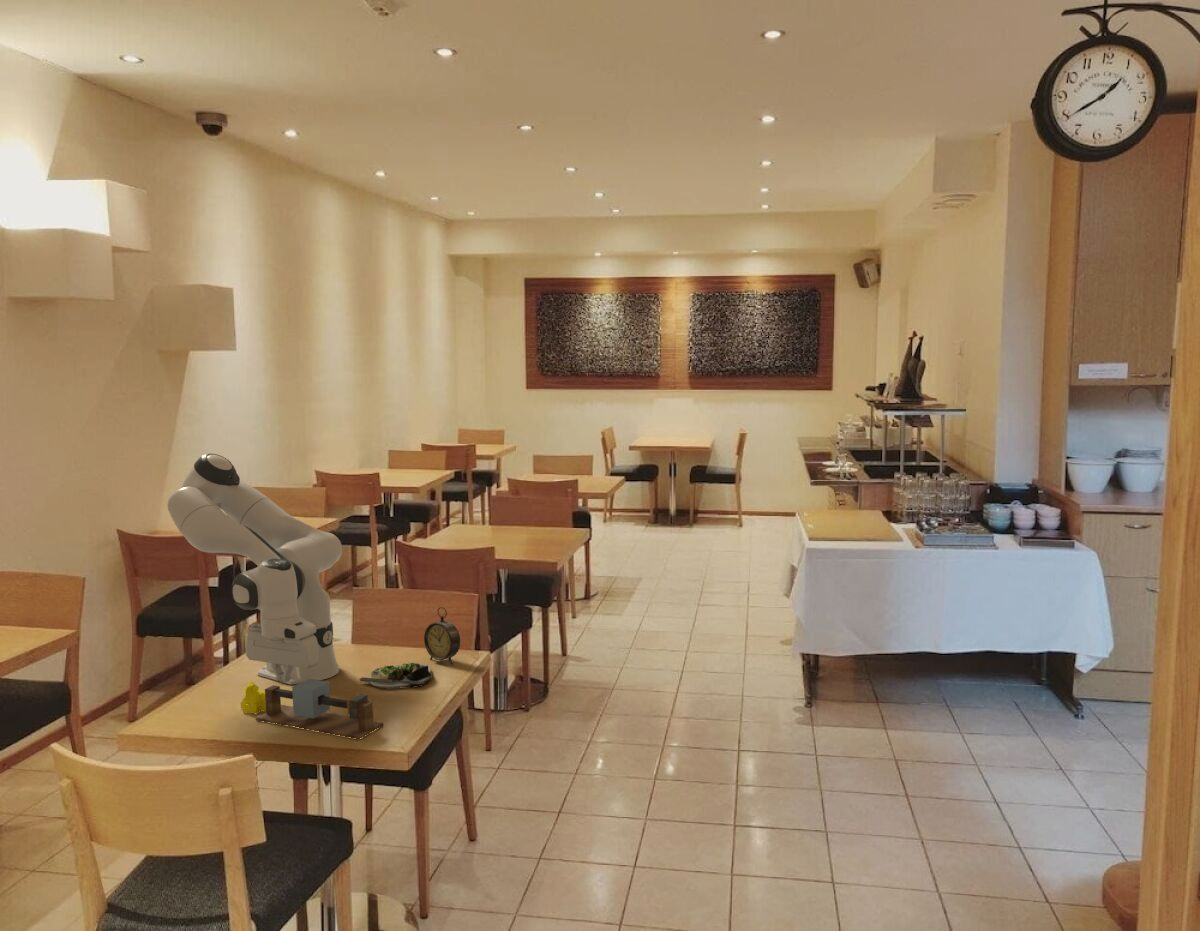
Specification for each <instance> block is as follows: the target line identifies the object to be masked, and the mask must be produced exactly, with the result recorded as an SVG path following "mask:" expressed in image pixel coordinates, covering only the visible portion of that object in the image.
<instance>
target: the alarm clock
mask: <svg viewBox="0 0 1200 931" xmlns="http://www.w3.org/2000/svg"><path fill="white" fill-rule="evenodd" d="M440 609H443V610H444V613H445V614H444V615H445V616H444V615H443V616H442V615H441V614H440V612H439V611H440ZM437 615H438V616H439V618H440V620H439V621H436V622H432V623H430V624H429V625H428V626H427V627H426V629H425V631H424V635H423V641H424V646H425V649H426V652H427V654H428V655H429V656H430V657H429V660H430V659H432V660H433V659H434V660H436V661H444V660H447V659H448V660H449V662H450V664H453V665H454V663H453V660H452V658H453V657H454V656H455V655H457V653H458V652H459V650H460V648H461V636H460V632H459V631H458V629H457V627H456V626H455V625H454V624H453V623H452V622H450V621H448V620H444V619H446V617H447V615H448V612H447V610H446V608H445V607H443V606H439V607H438V608H437Z"/></svg>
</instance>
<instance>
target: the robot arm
mask: <svg viewBox="0 0 1200 931" xmlns="http://www.w3.org/2000/svg"><path fill="white" fill-rule="evenodd" d="M167 511H168V512H169V514H170V517H171V518H172V521H173V523H174V524H175V526H176V528H177V530H178V531H179V532H180V534H181V535H182V536H183V537H184V538H185V540H186V542H187V543H189V544H190V545H191V546H192V547H194V548H195V549H196V550H199V551H200V552H203V553H209V554H210V553H212V554H234V555H241V556H244V557H246V558H248V559H249V560H251V561H252V562H253V563H254V564H255V565H257V567H254V568H252V569H249V570H246V571H244V572H243V571H242V572H240V573H239V574H237V575H236V576H235V577H234V579H233V581H232V584H231V589H230V590H231V598H232V600H233V602H234V603H235V605H237V607H239V608H240V609H243V610H247V611H248V610H256V609H258V610H259V611H260V617H259V618H260V623H258V622H252V623H250V624H249V625H248V626H247V636H246V643H245V644H246V645H245V656H246V658H248V660H249V661H254V662H261V663H265V664H266V665H263V666H262V667H260V668H259V669H258V671H257V675H258V676H260V677H263V678H267V679H270V680H274V681H277V682H280V683H283V684H287V685H297V684H299V683H301V682H303V681H305V680H308V679H314V680H320V681H324V680H326V679H330V678H332V677H334V676H336V675H338V674H339V672H340V668H339V666H338V662H337V659H336V658H337V657H336V653H335V648H334V643H333V639H334V637H333V636H334V626H333V625H334V624H333V622H332V619H331V618H332V616H331V615H332V614H331V597H330V595H329V593H328V592H327V591H325V590H324V589H323V587H322V584H321V581H320V573H322V572H324V571H326V570H330V569H331V568H332V567H333V566H334V565H335V564H337V562H338V561H339V560H340V558H341V557H342V554H343V546H342V542H341V540H340V539H339V538H338V537H337V536H336V535H335V534H333V533H331V532H328V531H323V530H320V529H317V528H315V527H313V526H311V525H309V524H307V523H305V522H303V521H301V520H300V519H297V518H296V517H294V516H292V515H291V514H289V513H288V512H286V511H285V510H284V509H283V508H282V507H280V506H279V505H277V503H275V502H274V501H273V500H272V499H270V498H269V496H266V495H265V494H264V493H262V492H261V491H260V490H258V489H257V488H256V487H255V488H254V487H253V486H251V485H250V484H248V483H246V482H243V481H241V480H240V476H239V474H238V473H237V470H236V468H235V466H234V465H233V463H232V462H231V461H230V460H229V459H227V458H226V457H224V456H222V455H220V454H216V453H205V454H202V455H201V456H200V457H199V458H197V460H196V461H195V462H194V464H193V467H192V468H191V470H190V471H189V472H188V474H187V475H186V477H185V479H184V480H183V482H182V485H181V487H180V488H178V489H177V490H175V491H173V493H172V494H171V495H170V496H169V498H168V501H167Z"/></svg>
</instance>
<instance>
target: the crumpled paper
mask: <svg viewBox="0 0 1200 931" xmlns="http://www.w3.org/2000/svg"><path fill="white" fill-rule="evenodd" d="M243 694H244V696H245V697H244V698H243V699H242V701H241V702H240V709H241V708H243V709H242V713H243V712H247V713H246V714H251V713H257V714H259V713H260V712H262V711H261V710H264V711H263V712H266V702H265V689H260V687H259V686H258V685H256V684H255V683H254V681H253V679H251V680H250V682H249V684H248V685H247V686H245V687H244V688H243ZM259 711H260V712H259ZM258 712H259V713H258Z"/></svg>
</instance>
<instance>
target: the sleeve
mask: <svg viewBox="0 0 1200 931" xmlns="http://www.w3.org/2000/svg"><path fill="white" fill-rule="evenodd" d="M291 687H292V688H291V691H292V692H293V699H292V707H293V712H294V715H298V716H303V717H309V718H315V717H317V716H319V715H321V714H323V713H324V712H326V713H327V712H328V711H330V710H331V706H329V705H324V704H318V697H319V696H325V697H330V682H329V681H325V680H314V679H308V680H305V681H303V682H301V683H297V684H294V685H292V686H291Z"/></svg>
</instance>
